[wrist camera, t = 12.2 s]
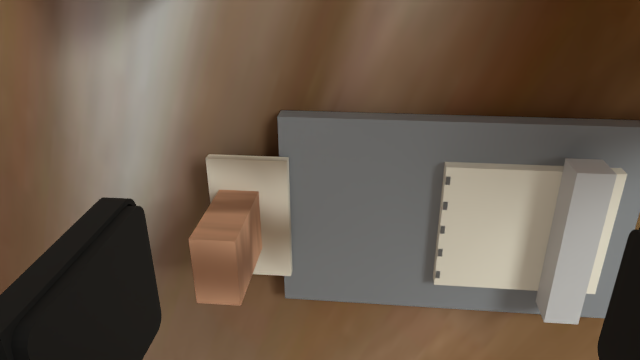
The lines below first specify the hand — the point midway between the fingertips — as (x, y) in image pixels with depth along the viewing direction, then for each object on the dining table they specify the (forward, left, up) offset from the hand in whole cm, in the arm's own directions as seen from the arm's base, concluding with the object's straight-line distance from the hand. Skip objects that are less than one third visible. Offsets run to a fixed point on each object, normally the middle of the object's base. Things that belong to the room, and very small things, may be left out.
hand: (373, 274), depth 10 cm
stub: (+14, -9, -27) cm, 31 cm away
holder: (+14, +6, -28) cm, 32 cm away
